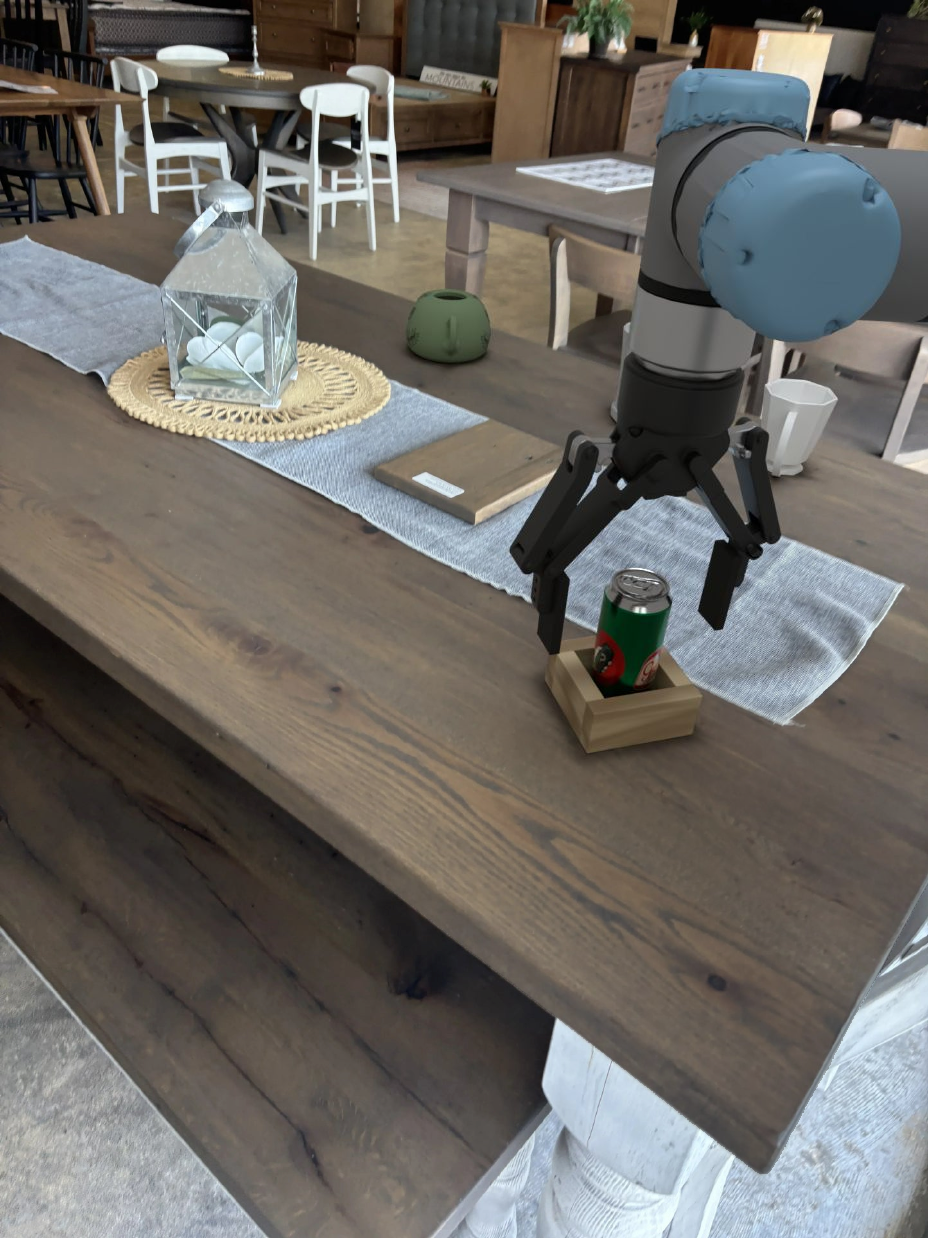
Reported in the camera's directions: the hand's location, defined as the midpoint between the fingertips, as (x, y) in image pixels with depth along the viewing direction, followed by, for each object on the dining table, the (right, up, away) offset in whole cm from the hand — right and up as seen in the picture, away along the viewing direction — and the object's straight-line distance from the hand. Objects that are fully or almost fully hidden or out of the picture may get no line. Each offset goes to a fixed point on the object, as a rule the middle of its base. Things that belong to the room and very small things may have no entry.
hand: (631, 632), depth 69 cm
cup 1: (+12, +28, +53) cm, 61 cm away
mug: (-15, +41, +69) cm, 81 cm away
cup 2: (+26, +19, +42) cm, 53 cm away
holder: (0, -6, +4) cm, 8 cm away
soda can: (0, -6, +4) cm, 8 cm away
